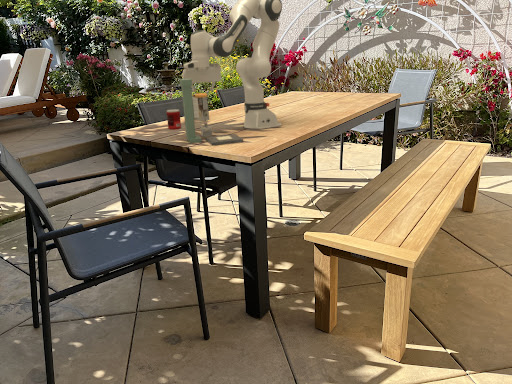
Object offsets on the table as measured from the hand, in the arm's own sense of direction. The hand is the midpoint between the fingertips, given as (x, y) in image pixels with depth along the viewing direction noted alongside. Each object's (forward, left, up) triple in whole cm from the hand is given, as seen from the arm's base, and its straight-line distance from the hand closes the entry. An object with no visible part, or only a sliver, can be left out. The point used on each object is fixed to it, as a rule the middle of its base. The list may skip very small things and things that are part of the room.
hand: (203, 91), depth 216 cm
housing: (0, 0, -24) cm, 24 cm away
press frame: (+9, +11, -24) cm, 28 cm away
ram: (+4, +11, -12) cm, 17 cm away
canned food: (+13, -31, -24) cm, 41 cm away
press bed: (-5, +19, -24) cm, 31 cm away
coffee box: (-8, -53, -24) cm, 59 cm away
